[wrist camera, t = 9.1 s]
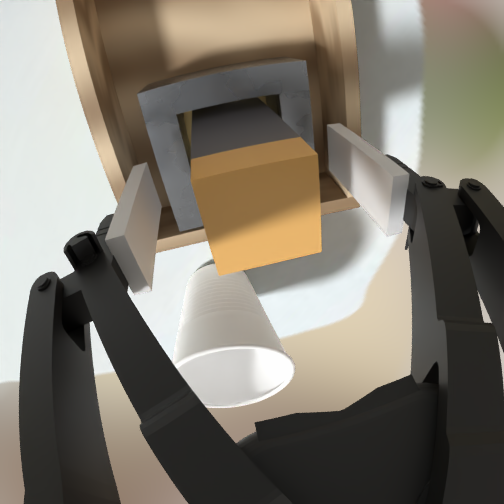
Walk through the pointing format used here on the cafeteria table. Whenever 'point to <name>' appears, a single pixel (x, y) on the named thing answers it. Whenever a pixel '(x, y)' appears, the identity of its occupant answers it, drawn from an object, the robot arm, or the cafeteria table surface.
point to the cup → (228, 342)
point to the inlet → (213, 93)
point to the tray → (199, 58)
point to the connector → (254, 186)
